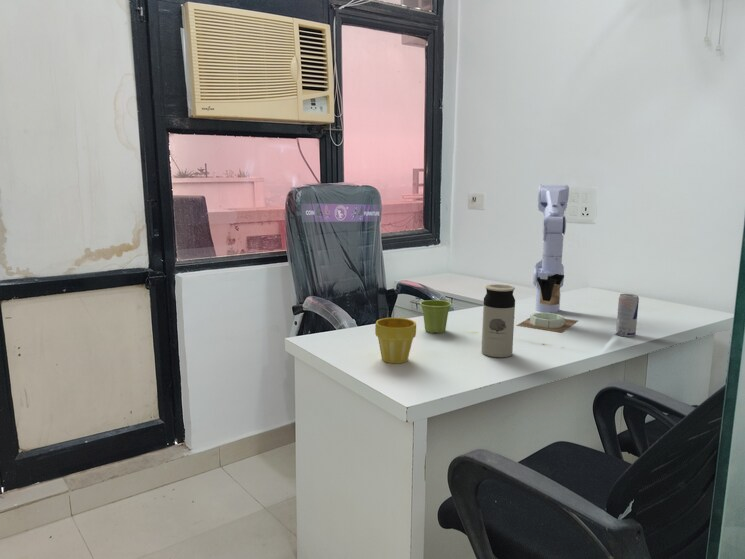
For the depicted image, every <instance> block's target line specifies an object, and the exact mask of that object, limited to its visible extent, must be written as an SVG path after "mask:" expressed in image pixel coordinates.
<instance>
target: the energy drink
mask: <svg viewBox="0 0 745 559" xmlns="http://www.w3.org/2000/svg"><path fill="white" fill-rule="evenodd" d="M639 300H640V299H639V295H636V294H633V293H620V294H619V296H618V305H617V306H618V307H617V315H616V316H617V317H616V326H615V332H616V333H615V334H616V335H617V336H620V337H623V336H624V337H623V338H634V337H635V336H636V334H637V324H638V323H637V322H638V312H639Z"/></svg>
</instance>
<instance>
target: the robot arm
mask: <svg viewBox="0 0 745 559" xmlns="http://www.w3.org/2000/svg"><path fill="white" fill-rule="evenodd" d="M569 195H570V187H569V185H568V184H564V185H562V184H561V185H559V184H553V185H552V184H546V185H545V184H540V185H538V191H537V209H538V211H539V212H541V213H543V216H544V217H543V220H542V237H543V238H542V240H543V243H542V245H543V246H542V259H539V261H537V262H535V264H534V269H533V276H532V277H533V279H532V280H533V281H532V285H533V286H534V287H536V292H535V293H536V295H535V311H536V312H537V313H553V314H556V313H558V311H562V309H560V307H561V294H560V295H559V304H557V305H550V306H549V305H545V304H542V303H540V292H541V293H542V299H543V301H550V300H551V296H552V291H553V288H554V285H555V284H557V285H560V289H561V288H562V287H563V286H564V280H565V270H564V269H565V266H564V265H563V262H562V261H563V250H564V248H563V247H564V236H565V234H566V229H567V218H566V216H565V215H564V212H565V211H566V209H567V208H568V202H569V198H570V197H569Z"/></svg>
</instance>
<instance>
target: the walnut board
mask: <svg viewBox="0 0 745 559" xmlns="http://www.w3.org/2000/svg"><path fill="white" fill-rule="evenodd" d="M578 322H579V320H577V319H569V318H565V319H564V325H563V326H562V327H560V328H545V327H539V326H535V325H533V324H531V323H530V317H529V318H528V317H527V319H525V320H523V321H521V322H520V323H518V324H516V325H515V326H516V327H521V328H522V327H523V328H528V329H534V330H540V331H545V332H551V333H552V332H553V333H559V334H563V333H564V332H565V331H566V330H568V329H569V328H571V327H572V326H574V325H575V324H576V323H578Z"/></svg>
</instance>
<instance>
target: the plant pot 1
mask: <svg viewBox="0 0 745 559" xmlns="http://www.w3.org/2000/svg"><path fill="white" fill-rule="evenodd" d="M374 325H375V328H374V331H375V336H376V337H377V340H378V344H379V351H380V357H381V360H382V361H383V362H386V363H388V364H403V363H406V362H407V361H408V360H409V357H410V353H411V348H412V343H413V340H414V338H416V337H417V336H416V334H417V322H416V321H414V320H412V319H409V318H405V317H384V318H380V319H377V320H376V322H375V324H374Z"/></svg>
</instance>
